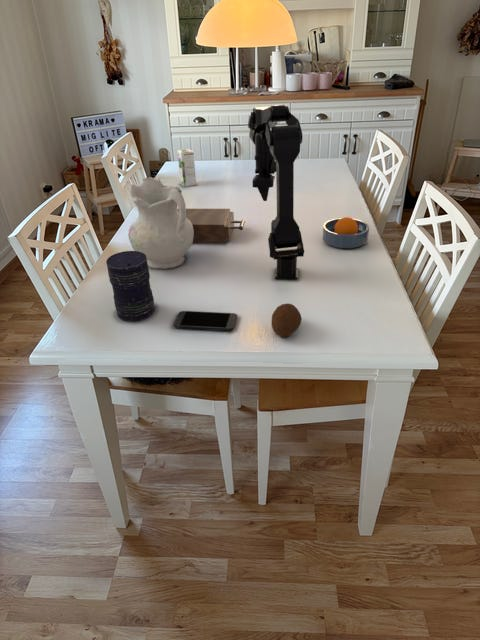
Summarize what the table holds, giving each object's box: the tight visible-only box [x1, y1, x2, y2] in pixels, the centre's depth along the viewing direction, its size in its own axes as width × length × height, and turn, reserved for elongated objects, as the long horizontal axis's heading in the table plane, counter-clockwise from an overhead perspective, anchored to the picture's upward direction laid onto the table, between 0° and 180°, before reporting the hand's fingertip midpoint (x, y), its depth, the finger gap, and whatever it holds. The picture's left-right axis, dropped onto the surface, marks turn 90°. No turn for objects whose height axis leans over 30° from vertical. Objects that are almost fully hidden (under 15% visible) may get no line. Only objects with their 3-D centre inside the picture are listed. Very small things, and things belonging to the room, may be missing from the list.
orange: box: [334, 216, 358, 235], centre depth 153 cm, size 7×7×7 cm
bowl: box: [322, 217, 370, 249], centre depth 155 cm, size 14×14×5 cm
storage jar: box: [105, 250, 156, 323], centre depth 121 cm, size 10×10×15 cm
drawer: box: [225, 211, 246, 241], centre depth 163 cm, size 22×13×5 cm, turn 83°
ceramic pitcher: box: [127, 176, 194, 270], centre depth 142 cm, size 22×20×25 cm
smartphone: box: [172, 310, 238, 332], centre depth 119 cm, size 7×15×1 cm, turn 81°
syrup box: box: [177, 148, 197, 188], centre depth 209 cm, size 6×6×14 cm
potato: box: [271, 302, 303, 338], centre depth 113 cm, size 7×10×7 cm
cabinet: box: [177, 208, 231, 245], centre depth 164 cm, size 19×15×7 cm
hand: (265, 200), depth 156 cm, fingers closed
